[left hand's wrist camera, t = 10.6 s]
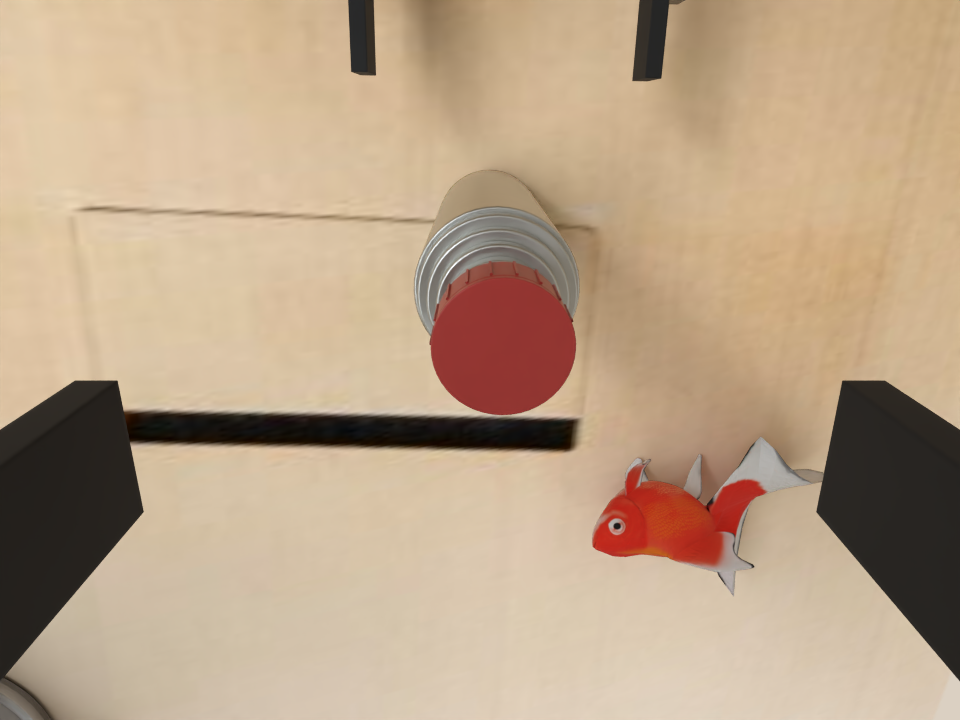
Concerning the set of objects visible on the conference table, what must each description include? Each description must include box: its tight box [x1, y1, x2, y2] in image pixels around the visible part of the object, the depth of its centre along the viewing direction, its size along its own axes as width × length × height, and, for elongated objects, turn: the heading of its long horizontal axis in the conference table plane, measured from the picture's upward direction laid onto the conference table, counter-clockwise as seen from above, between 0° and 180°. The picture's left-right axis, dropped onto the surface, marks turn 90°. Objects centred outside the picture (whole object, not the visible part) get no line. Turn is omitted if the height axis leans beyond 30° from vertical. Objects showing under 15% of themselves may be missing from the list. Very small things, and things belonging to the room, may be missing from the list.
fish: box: [592, 437, 824, 596], centre depth 43 cm, size 11×16×10 cm
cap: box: [430, 261, 576, 415], centre depth 20 cm, size 4×4×2 cm
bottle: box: [414, 170, 579, 336], centre depth 30 cm, size 6×6×24 cm
